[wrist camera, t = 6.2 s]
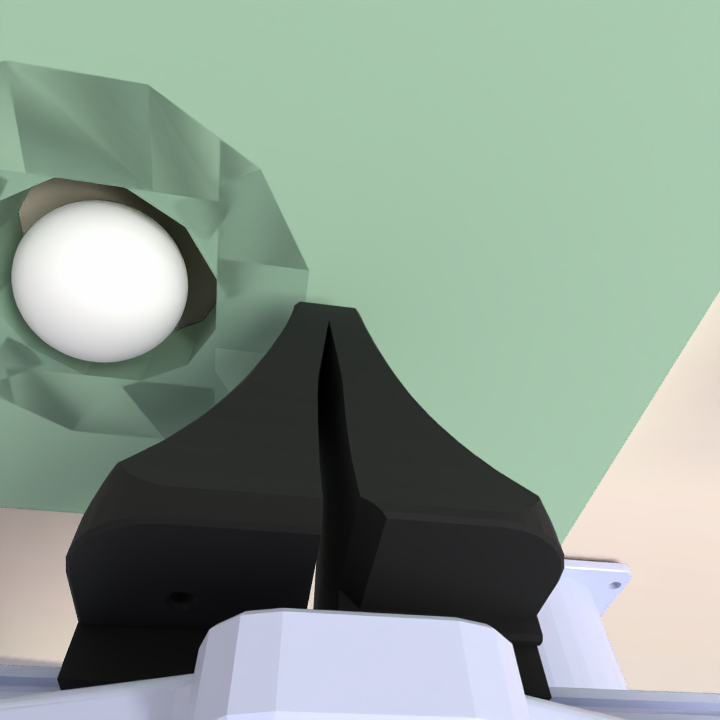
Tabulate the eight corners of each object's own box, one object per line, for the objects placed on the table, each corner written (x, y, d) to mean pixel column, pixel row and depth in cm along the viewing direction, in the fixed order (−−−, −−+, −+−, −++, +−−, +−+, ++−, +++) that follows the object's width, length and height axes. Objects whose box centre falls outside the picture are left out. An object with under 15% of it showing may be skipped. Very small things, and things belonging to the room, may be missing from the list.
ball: (156, 313, 16) (204, 380, 14) (6, 323, 14) (31, 405, 11) (163, 184, 14) (219, 234, 12) (-7, 173, 12) (20, 232, 10)
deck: (541, 501, 21) (558, 549, 19) (-48, 451, 18) (-85, 500, 17) (895, -145, 10) (999, -159, 9) (-387, -480, 8) (-575, -588, 6)
